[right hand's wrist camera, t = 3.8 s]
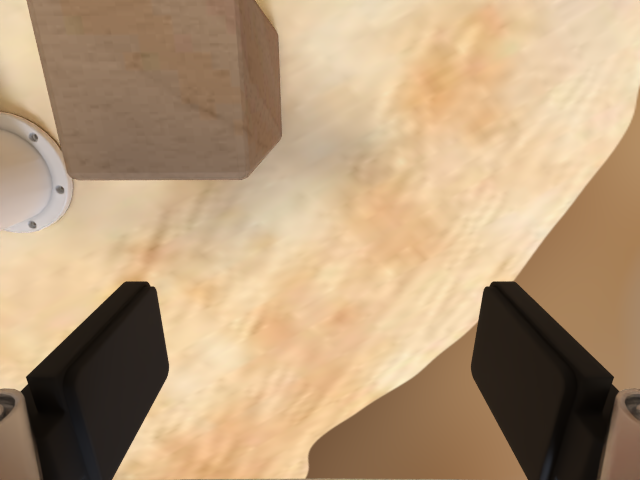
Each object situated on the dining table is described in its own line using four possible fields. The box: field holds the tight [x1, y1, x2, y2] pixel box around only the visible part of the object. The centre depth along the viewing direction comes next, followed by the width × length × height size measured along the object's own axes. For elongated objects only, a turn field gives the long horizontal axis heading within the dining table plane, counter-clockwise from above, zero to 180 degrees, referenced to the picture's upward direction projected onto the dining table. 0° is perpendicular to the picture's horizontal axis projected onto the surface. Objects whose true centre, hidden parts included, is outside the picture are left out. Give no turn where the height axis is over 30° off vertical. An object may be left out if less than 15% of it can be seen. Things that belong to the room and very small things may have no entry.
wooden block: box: [27, 0, 282, 180], centre depth 29 cm, size 10×10×20 cm
